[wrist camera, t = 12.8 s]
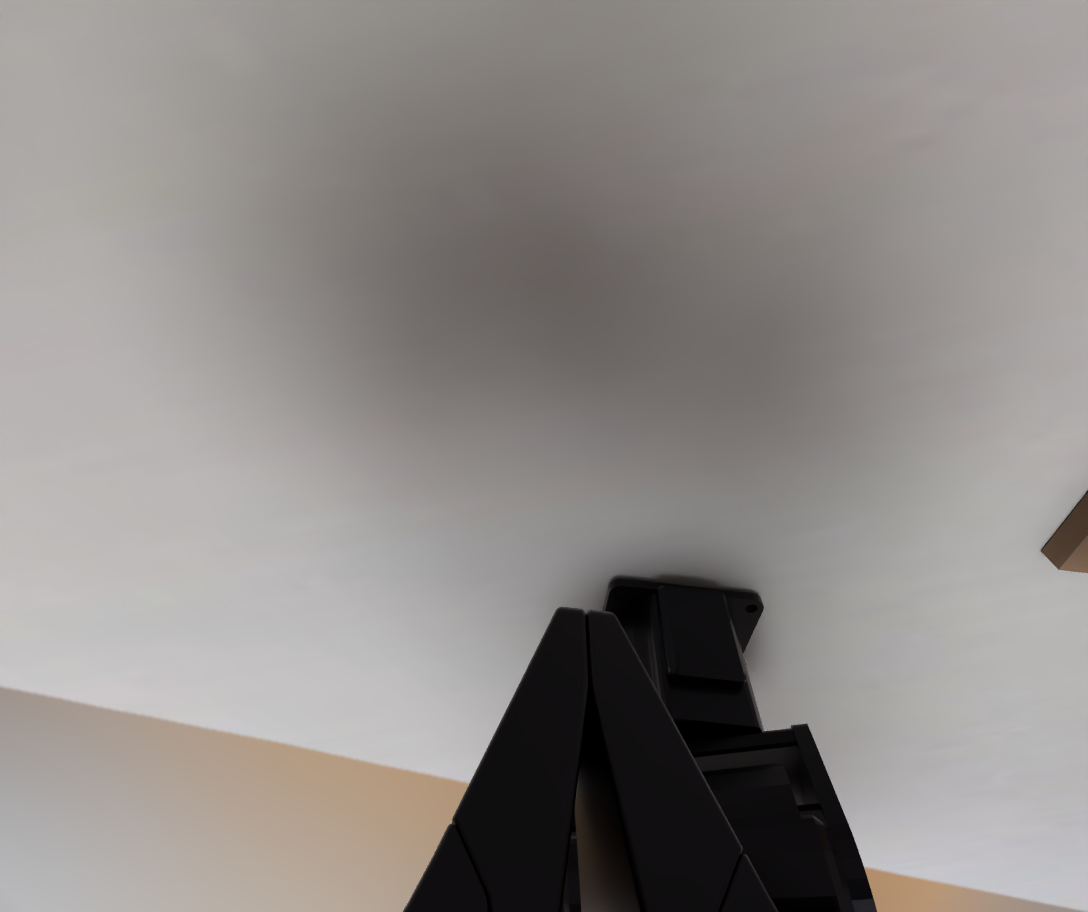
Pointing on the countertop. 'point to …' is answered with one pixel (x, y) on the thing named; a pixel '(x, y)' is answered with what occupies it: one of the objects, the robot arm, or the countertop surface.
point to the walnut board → (1071, 541)
